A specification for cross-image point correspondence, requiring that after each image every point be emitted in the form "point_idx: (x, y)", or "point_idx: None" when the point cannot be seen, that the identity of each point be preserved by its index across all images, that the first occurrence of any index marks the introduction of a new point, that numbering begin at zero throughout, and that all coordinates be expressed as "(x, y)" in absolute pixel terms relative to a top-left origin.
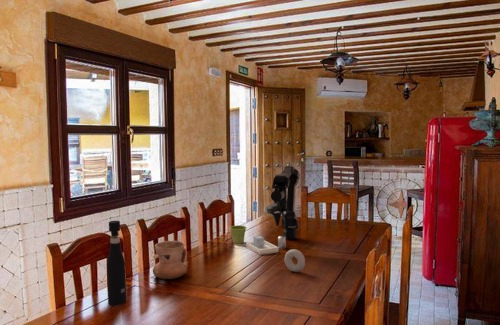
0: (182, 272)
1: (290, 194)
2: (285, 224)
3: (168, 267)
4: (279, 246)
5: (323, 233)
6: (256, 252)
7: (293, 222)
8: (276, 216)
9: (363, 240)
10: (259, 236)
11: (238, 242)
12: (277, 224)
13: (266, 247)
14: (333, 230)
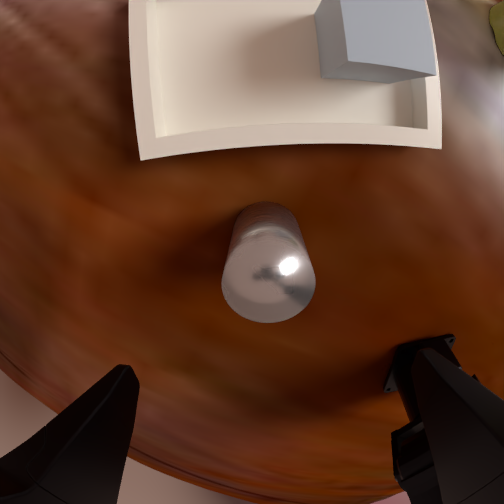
0: None
1: None
2: (55, 421)
3: None
4: (252, 210)
5: (370, 458)
6: None
7: (402, 467)
8: (492, 485)
9: (225, 487)
10: (423, 54)
11: (493, 12)
12: (423, 376)
13: (293, 90)
14: (373, 473)
